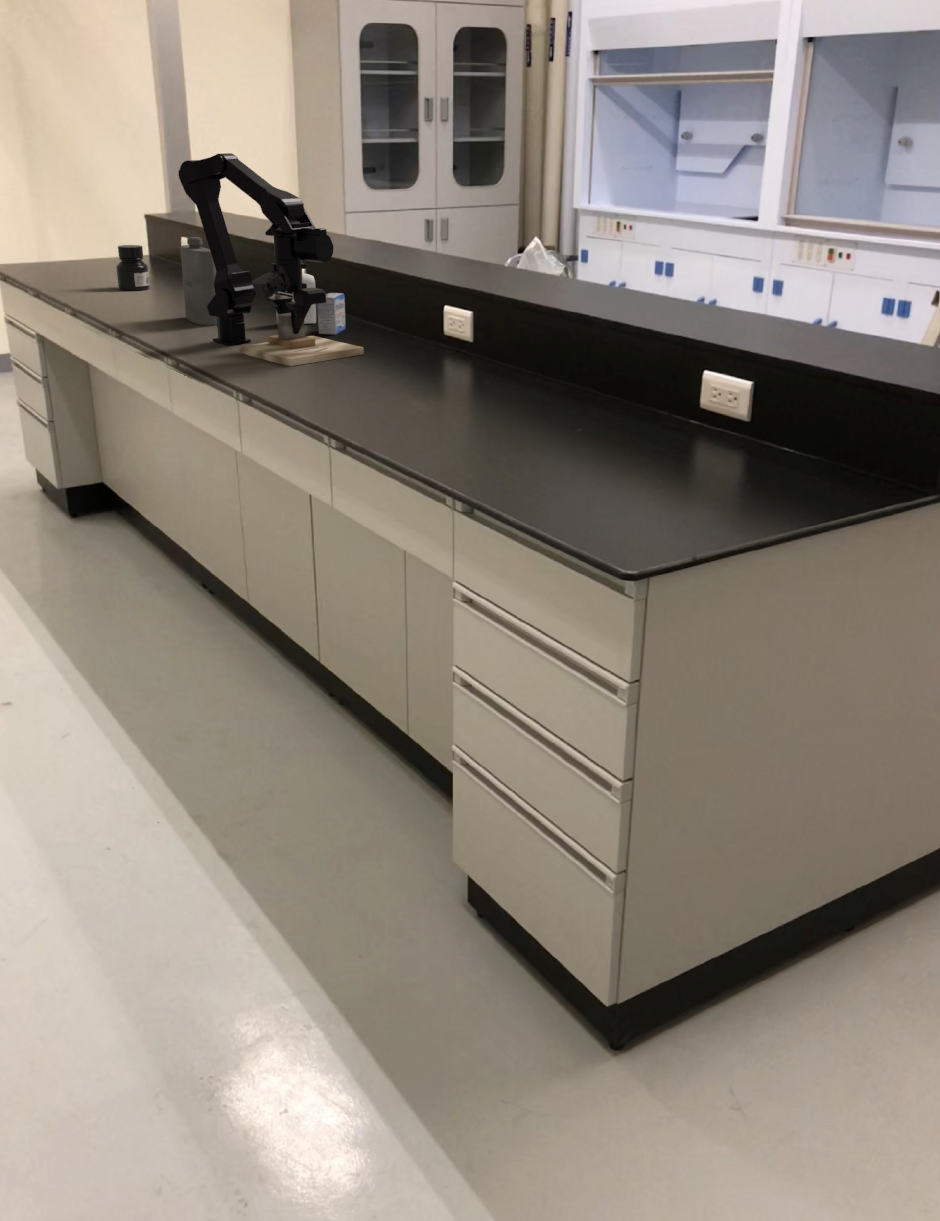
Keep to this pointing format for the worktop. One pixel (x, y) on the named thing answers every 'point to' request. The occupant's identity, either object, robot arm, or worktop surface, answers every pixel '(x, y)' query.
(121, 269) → the ink bottle
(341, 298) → the medicine box
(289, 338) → the block
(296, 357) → the sanding board
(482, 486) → the worktop surface
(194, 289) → the flask
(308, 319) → the white rectangular bottle
